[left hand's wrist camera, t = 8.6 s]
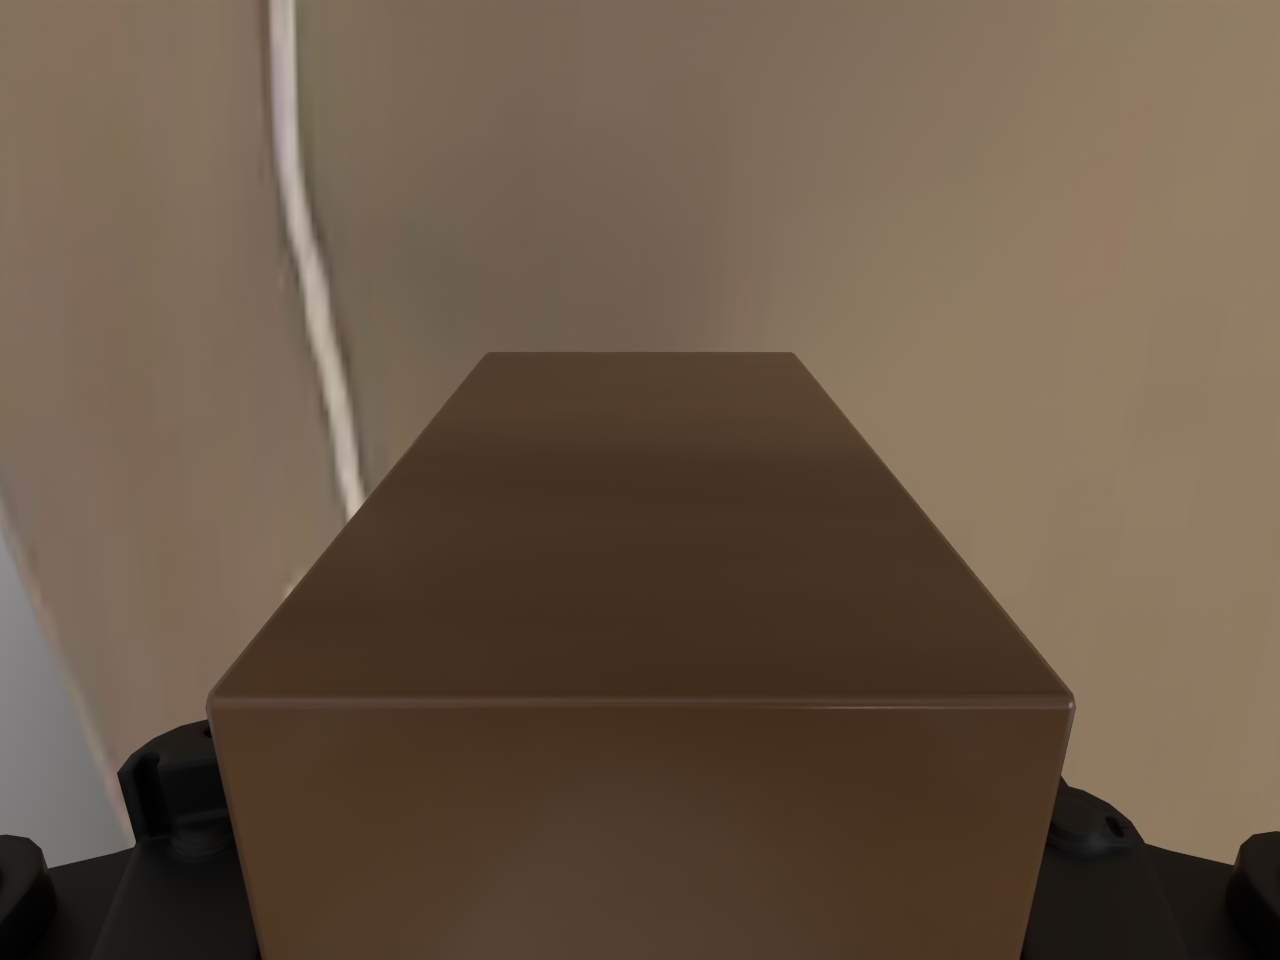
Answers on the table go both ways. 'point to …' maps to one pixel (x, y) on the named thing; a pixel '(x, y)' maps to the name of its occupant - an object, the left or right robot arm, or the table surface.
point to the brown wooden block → (640, 692)
